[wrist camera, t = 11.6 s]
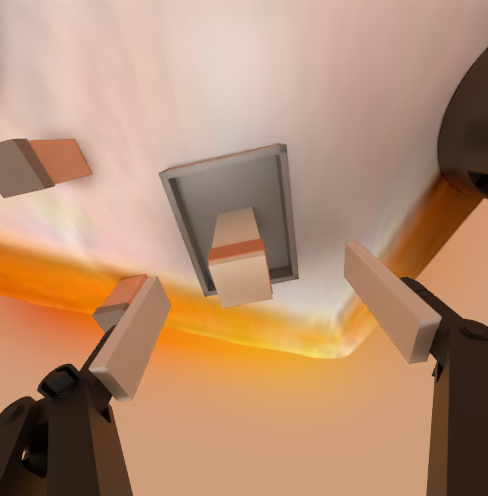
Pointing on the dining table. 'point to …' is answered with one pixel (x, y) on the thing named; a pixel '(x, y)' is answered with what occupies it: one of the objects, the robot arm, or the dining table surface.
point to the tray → (235, 206)
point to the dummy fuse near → (38, 165)
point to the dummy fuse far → (118, 302)
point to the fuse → (239, 260)
